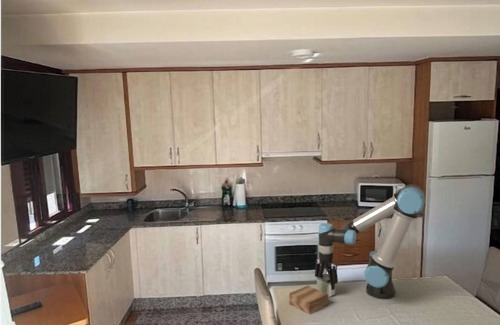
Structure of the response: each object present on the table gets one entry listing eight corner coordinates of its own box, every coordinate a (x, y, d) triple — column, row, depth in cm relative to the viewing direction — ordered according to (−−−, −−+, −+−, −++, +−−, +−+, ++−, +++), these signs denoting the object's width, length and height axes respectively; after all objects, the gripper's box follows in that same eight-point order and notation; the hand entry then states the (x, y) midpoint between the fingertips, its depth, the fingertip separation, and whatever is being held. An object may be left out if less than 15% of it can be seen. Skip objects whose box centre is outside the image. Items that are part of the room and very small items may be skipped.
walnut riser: (328, 305, 193) (328, 294, 192) (309, 314, 184) (309, 302, 184) (308, 296, 204) (308, 285, 203) (289, 304, 195) (289, 293, 195)
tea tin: (335, 294, 205) (335, 277, 204) (326, 298, 200) (326, 280, 199) (325, 290, 210) (325, 273, 209) (316, 294, 206) (316, 276, 205)
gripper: (307, 249, 209) (308, 288, 211) (335, 258, 193) (336, 301, 195) (316, 246, 213) (317, 284, 215) (345, 255, 197) (345, 296, 200)
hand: (326, 292), depth 205 cm, fingers closed on tea tin, 7 cm apart
